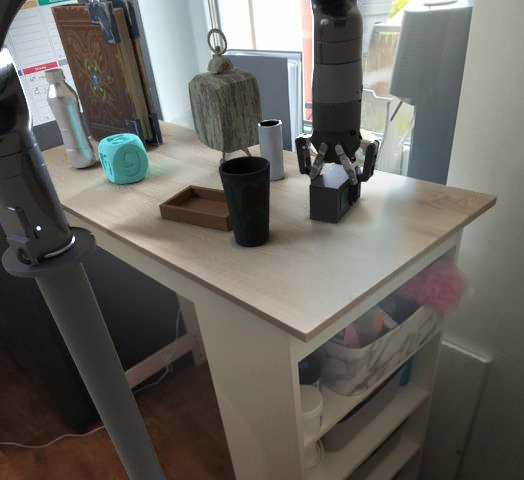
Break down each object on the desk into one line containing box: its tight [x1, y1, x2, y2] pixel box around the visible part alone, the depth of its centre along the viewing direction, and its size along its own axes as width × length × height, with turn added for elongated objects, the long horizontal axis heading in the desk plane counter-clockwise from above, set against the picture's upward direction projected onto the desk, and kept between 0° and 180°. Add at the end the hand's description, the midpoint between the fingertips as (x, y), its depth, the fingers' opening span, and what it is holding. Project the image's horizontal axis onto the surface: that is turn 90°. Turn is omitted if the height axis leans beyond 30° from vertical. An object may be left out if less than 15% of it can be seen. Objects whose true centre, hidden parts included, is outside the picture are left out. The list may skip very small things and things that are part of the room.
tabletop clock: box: [188, 27, 263, 165], centre depth 97 cm, size 14×9×25 cm, turn 34°
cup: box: [218, 155, 271, 248], centre depth 74 cm, size 8×8×12 cm
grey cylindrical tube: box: [258, 119, 285, 181], centre depth 94 cm, size 4×4×10 cm
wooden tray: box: [158, 184, 233, 232], centre depth 86 cm, size 10×15×2 cm, turn 60°
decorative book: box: [50, 0, 164, 152], centre depth 114 cm, size 23×7×30 cm, turn 50°
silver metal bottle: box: [43, 68, 97, 169], centre depth 106 cm, size 6×7×20 cm
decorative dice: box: [97, 133, 150, 185], centre depth 101 cm, size 8×8×8 cm
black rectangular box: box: [308, 163, 362, 225], centre depth 81 cm, size 10×5×6 cm, turn 150°
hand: (335, 200), depth 82 cm, fingers open, 6 cm apart
